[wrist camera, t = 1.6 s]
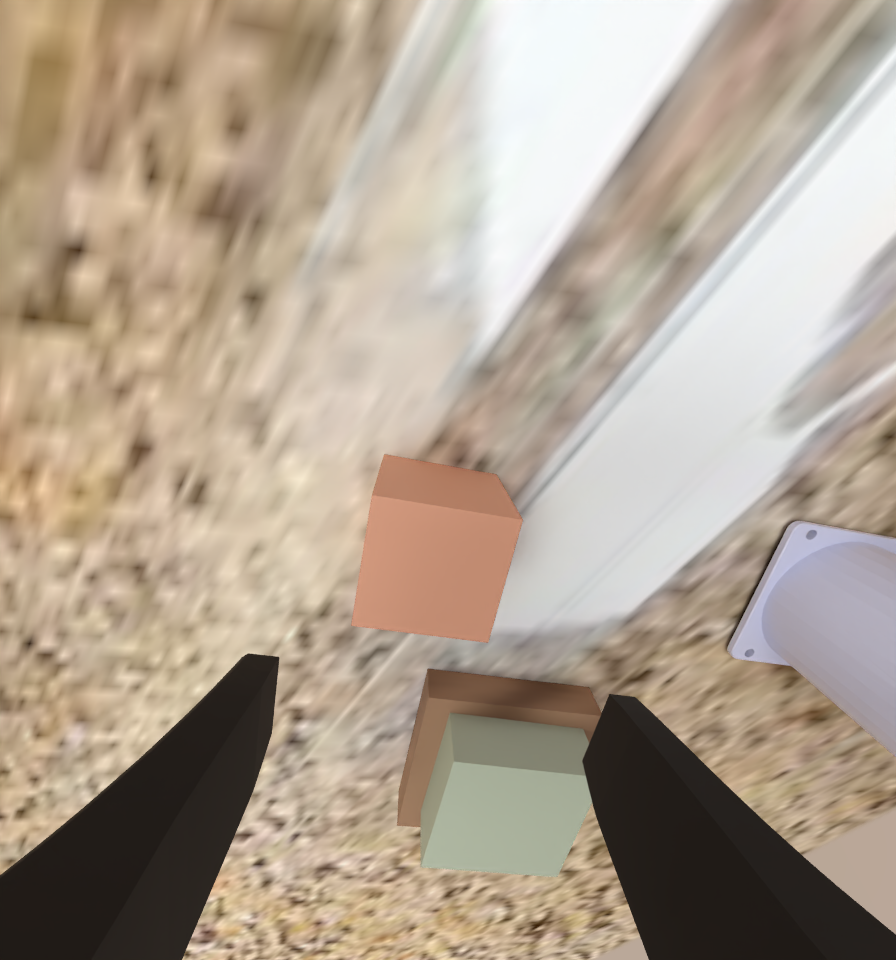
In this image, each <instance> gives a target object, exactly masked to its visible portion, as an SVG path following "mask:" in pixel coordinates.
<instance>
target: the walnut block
mask: <svg viewBox="0 0 896 960" xmlns="http://www.w3.org/2000/svg"><path fill="white" fill-rule="evenodd" d="M450 713H457V714H465V715H474V716H482V717H490V718H499V719H507V720H515V721H523V722H532V723H540V724H548V725H556V726H564V727H572V728H580V729H583V730H584V732H585V735H586V737H587V739H588V742H589V743H590V740H591V738H592V736H593V733H594V731H595V728H596V726H597V723H598V721H599V719H600V716H601V714H602V713H601V711H600V709H599V707H598V705H597V703H596V701H595V699H594V697H593V695H592V693H591V691H590V689H589V687H582V686H573V685H564V684H556V683H547V682H538V681H530V680H521V679H512V678H504V677H495V676H486V675H478V674H469V673H460V672H452V671H443V670H434V669H428V670H427V674H426V678H425V682H424V687H423V691H422V695H421V699H420V704H419V708H418V712H417V716H416V720H415V725H414V729H413V733H412V737H411V742H410V746H409V750H408V754H407V758H406V763H405V767H404V771H403V775H402V780H401V784H400V788H399V799H398V822H397V826H412V827H421V809H422V805H423V802H424V799H425V795H426V792H427V788H428V785H429V782H430V778H431V775H432V772H433V768H434V765H435V761H436V758H437V755H438V751H439V748H440V745H441V741H442V738H443V734H444V731H445V728H446V724H447V721H448V717H449V714H450Z"/></svg>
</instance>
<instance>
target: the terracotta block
mask: <svg viewBox="0 0 896 960" xmlns="http://www.w3.org/2000/svg"><path fill="white" fill-rule="evenodd" d="M522 522H523V519H522V518H521V516H520V514H519V512H518V511H517V509H516V507H515V506H514V504H513V502H512V500H511V499H510V497H509V495H508V494H507V492H506V490H505V488H504V487H503V485H502V483H501V481H500V480H499V478H498V476H497V475H496V474H491V473H485V472H480V471H474V470H469V469H463V468H457V467H452V466H446V465H441V464H435V463H430V462H424V461H418V460H413V459H407V458H402V457H396V456H391V455H385V454H384V457H383V460H382V463H381V467H380V470H379V473H378V477H377V480H376V484H375V487H374V490H373V494H372V499H371V505H370V511H369V517H368V524H367V530H366V536H365V542H364V549H363V555H362V561H361V568H360V574H359V580H358V586H357V593H356V599H355V605H354V611H353V618H352V624H351V626H358V627H366V628H374V629H382V630H390V631H398V632H406V633H414V634H422V635H431V636H439V637H447V638H455V639H463V640H471V641H479V642H487V643H488V641H489V638H490V634H491V631H492V627H493V624H494V620H495V617H496V613H497V609H498V606H499V602H500V599H501V595H502V592H503V588H504V585H505V581H506V578H507V574H508V571H509V567H510V564H511V560H512V557H513V553H514V550H515V546H516V543H517V539H518V536H519V532H520V529H521V525H522Z"/></svg>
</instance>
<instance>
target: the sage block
mask: <svg viewBox="0 0 896 960" xmlns="http://www.w3.org/2000/svg"><path fill="white" fill-rule="evenodd" d="M588 745H589V742H588V739H587V737H586V735H585V732H584V730H583V729H580V728H572V727H564V726H556V725H548V724H540V723H532V722H523V721H515V720H507V719H499V718H490V717H482V716H474V715H465V714H457V713H450V714H449V717H448V721H447V724H446V728H445V731H444V734H443V738H442V741H441V745H440V748H439V751H438V755H437V758H436V761H435V765H434V768H433V772H432V775H431V778H430V782H429V785H428V788H427V792H426V795H425V799H424V802H423V805H422V809H421V867H424V868H438V869H452V870H465V871H479V872H493V873H506V874H520V875H534V876H548V877H557V876H558V874H559V872H560V870H561V868H562V866H563V863H564V861H565V859H566V857H567V855H568V853H569V851H570V849H571V846H572V844H573V842H574V840H575V838H576V836H577V834H578V831H579V829H580V827H581V825H582V823H583V821H584V819H585V817H586V814H587V812H588V810H589V808H590V806H591V804H592V799H591V795H590V792H589V788H588V784H587V779H586V775H585V771H584V767H583V763H582V760H583V757H584V755H585V753H586V750H587V748H588Z"/></svg>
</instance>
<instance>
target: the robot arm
mask: <svg viewBox="0 0 896 960" xmlns="http://www.w3.org/2000/svg"><path fill="white" fill-rule="evenodd" d="M807 533H808V534H807ZM806 534H807V535H806ZM727 651H728V653H729V654H730V655H731V656H732V657H733V658H736V659H742V660H749V661H757V662H765V663H772V664H780V665H788V666H792V667H793V668H794V669H796V670H797V671H798V672H799V673H800V674H801V675H802V676H804V677H805V678H806V679H807V680H808V681H809V682H810V683H812V684H813V685H814V686H815V687H816V688H817V689H818V690H820V691H821V692H822V693H823V694H824V695H825V696H826V697H828V698H829V699H830V700H831V701H832V702H833V703H834V704H836V705H837V706H838V707H839V708H840V709H841V710H842V711H844V712H845V713H846V714H847V715H848V716H849V717H850V718H852V719H853V720H854V721H855V722H856V723H857V724H858V725H860V726H861V727H862V728H863V729H864V730H865V731H866V732H868V733H869V734H870V735H871V736H872V737H873V738H875V739H876V740H877V741H878V742H879V743H880V744H881V745H883V746H884V747H885V748H886V749H887V750H888V751H889V752H891V753H892V754H893V755H894V756H895V757H896V538H893V537H888V536H882V535H877V534H871V533H866V532H860V531H855V530H849V529H844V528H838V527H833V526H828V525H822V524H817V523H811V522H806V521H795V522H793V523H791V524H790V525H789V526H788V527H787V529H786V531H785V533H784V535H783V537H782V539H781V541H780V543H779V545H778V547H777V549H776V551H775V553H774V555H773V557H772V559H771V561H770V563H769V565H768V567H767V569H766V571H765V573H764V575H763V577H762V579H761V581H760V583H759V585H758V587H757V589H756V591H755V593H754V595H753V597H752V599H751V601H750V603H749V605H748V607H747V609H746V611H745V613H744V615H743V617H742V619H741V621H740V623H739V625H738V627H737V629H736V631H735V633H734V635H733V637H732V639H731V641H730V643H729V645H728V648H727ZM278 665H279V657H274V656H266V655H257V654H247V655H245V656H244V657H242V658H241V659H240V660H239V661H238V662H237V663H236V664H235V666H234V667H233V668H232V669H231V670H230V671H229V672H228V673H227V674H226V675H225V676H224V677H223V678H222V679H221V680H220V681H219V682H218V683H217V685H216V686H215V687H214V688H213V689H212V690H211V691H210V692H209V693H208V694H207V695H206V696H205V697H204V698H203V699H202V700H201V701H200V702H199V703H198V704H197V705H196V706H195V707H194V708H193V709H192V710H191V711H190V712H189V713H188V714H187V715H185V716H184V717H183V718H182V719H181V720H180V721H179V722H178V723H177V724H176V725H175V726H174V727H173V728H172V729H171V730H170V731H169V732H168V733H166V734H165V735H164V736H163V737H162V738H161V739H160V740H159V741H158V742H157V743H156V744H155V745H154V746H153V747H152V748H151V749H150V750H148V751H147V752H146V753H145V754H144V755H143V756H142V757H141V758H140V759H139V760H137V761H136V762H135V763H134V764H133V765H132V766H131V767H129V768H128V769H127V770H126V771H125V772H124V773H123V774H122V775H120V776H119V777H118V778H117V779H116V780H115V781H114V782H112V783H111V784H110V785H109V786H108V787H107V788H106V789H104V790H103V791H102V792H101V793H100V794H99V795H98V796H96V797H95V798H94V799H93V800H92V801H91V802H90V803H89V804H87V805H86V806H85V807H84V808H83V809H81V810H80V811H79V812H78V813H77V814H75V815H74V816H73V817H72V818H71V819H69V820H68V821H67V822H66V823H65V824H63V825H62V826H61V827H60V828H59V829H57V830H56V831H55V832H54V833H53V834H51V835H50V836H49V837H48V838H46V839H45V840H44V841H43V842H42V843H40V844H39V845H38V846H37V847H35V848H34V849H33V850H32V851H30V852H29V853H28V854H27V855H25V856H24V857H23V858H21V859H20V860H19V861H18V862H16V863H15V864H14V865H13V866H11V867H10V868H9V869H8V870H6V871H5V872H4V873H3V874H1V875H0V960H182V958H183V956H184V953H185V951H186V948H187V946H188V944H189V941H190V939H191V937H192V934H193V932H194V930H195V927H196V925H197V923H198V920H199V918H200V915H201V913H202V911H203V908H204V906H205V904H206V901H207V899H208V897H209V894H210V892H211V890H212V887H213V885H214V883H215V880H216V878H217V876H218V873H219V871H220V868H221V866H222V864H223V861H224V859H225V857H226V854H227V852H228V850H229V847H230V845H231V843H232V840H233V838H234V835H235V833H236V831H237V828H238V826H239V824H240V821H241V819H242V816H243V814H244V812H245V809H246V807H247V805H248V802H249V800H250V797H251V795H252V793H253V790H254V787H255V784H256V781H257V778H258V775H259V772H260V769H261V766H262V762H263V759H264V756H265V753H266V750H267V747H268V744H269V740H270V737H271V734H272V726H273V716H274V706H275V696H276V685H277V675H278ZM582 763H583V767H584V771H585V775H586V779H587V784H588V788H589V792H590V795H591V799H592V803H593V807H594V810H595V814H596V817H597V820H598V823H599V826H600V829H601V831H602V834H603V837H604V840H605V842H606V845H607V848H608V851H609V853H610V856H611V859H612V862H613V864H614V867H615V870H616V872H617V875H618V878H619V880H620V883H621V886H622V888H623V891H624V894H625V897H626V899H627V902H628V905H629V907H630V910H631V913H632V915H633V918H634V921H635V923H636V926H637V929H638V931H639V934H640V937H641V940H642V942H643V945H644V948H645V950H646V953H647V956H648V958H649V960H896V935H895V934H894V933H893V932H892V931H891V930H889V929H888V928H887V927H886V926H884V925H883V924H882V923H881V922H880V921H879V920H877V919H876V918H875V917H874V916H872V915H871V914H870V913H869V912H867V911H866V910H865V909H864V908H863V907H862V906H860V905H859V904H858V903H857V902H856V901H854V900H853V899H852V898H851V897H850V896H848V895H847V894H846V893H845V892H844V891H842V890H841V889H840V888H839V887H837V886H836V885H835V884H834V883H833V882H832V881H831V880H829V879H828V878H827V877H826V876H825V875H824V874H823V873H821V872H820V871H819V870H818V869H817V868H816V867H814V866H813V865H812V864H811V863H810V862H809V861H808V860H806V859H805V858H804V857H803V856H802V855H801V854H800V853H799V852H798V851H797V850H795V849H794V848H793V847H792V846H791V845H790V844H789V843H788V842H787V841H785V840H784V839H783V838H782V837H781V836H780V835H779V834H778V833H777V832H776V831H774V830H773V829H772V828H771V827H770V826H769V825H768V824H767V823H766V822H765V821H763V820H762V819H761V818H760V817H759V816H758V815H757V814H756V813H755V812H754V811H753V810H752V809H751V808H750V807H749V806H747V805H746V804H745V803H744V802H743V801H742V800H741V799H740V798H739V797H738V796H737V795H736V794H735V793H734V792H733V791H732V790H731V789H730V788H729V787H728V786H727V785H725V784H724V783H723V782H722V781H721V780H720V779H719V778H718V777H717V776H716V775H715V774H714V773H713V772H712V771H711V770H710V769H709V768H708V767H707V766H706V765H705V764H704V763H703V762H702V761H701V760H700V759H699V758H698V757H697V756H696V755H695V754H694V753H693V752H692V751H691V750H690V749H689V748H688V747H687V746H686V745H685V744H684V743H683V742H681V741H680V740H679V739H678V738H677V737H676V736H675V735H674V734H673V733H672V732H671V731H670V730H669V729H668V728H667V727H666V726H665V725H664V724H663V723H662V722H661V721H660V720H659V719H658V718H657V717H656V716H655V715H654V714H653V713H652V712H651V711H650V710H648V709H647V708H646V707H645V706H644V705H643V704H642V703H641V702H640V701H639V700H637V699H636V698H635V697H630V696H621V695H613V694H609V697H608V699H607V702H606V704H605V706H604V709H603V711H602V714H601V716H600V719H599V721H598V723H597V726H596V728H595V731H594V733H593V736H592V738H591V740H590V743H589V745H588V748H587V750H586V753H585V755H584V757H583V760H582Z"/></svg>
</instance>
